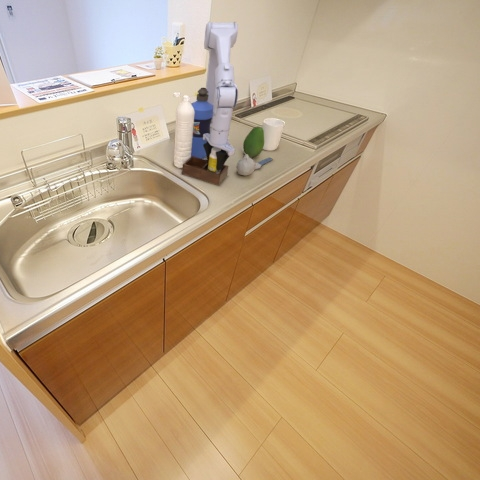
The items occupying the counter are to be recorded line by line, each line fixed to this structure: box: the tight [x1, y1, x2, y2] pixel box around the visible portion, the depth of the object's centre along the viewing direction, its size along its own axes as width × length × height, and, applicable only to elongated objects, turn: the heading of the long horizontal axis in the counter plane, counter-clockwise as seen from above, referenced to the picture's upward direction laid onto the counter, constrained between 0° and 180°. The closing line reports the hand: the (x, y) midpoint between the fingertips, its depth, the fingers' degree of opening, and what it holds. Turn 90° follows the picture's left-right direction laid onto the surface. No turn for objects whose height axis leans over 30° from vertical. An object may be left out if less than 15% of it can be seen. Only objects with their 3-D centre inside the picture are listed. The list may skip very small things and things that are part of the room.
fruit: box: [242, 126, 264, 159], centre depth 109 cm, size 8×8×12 cm
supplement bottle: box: [208, 147, 221, 174], centre depth 96 cm, size 5×5×8 cm
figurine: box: [236, 154, 256, 176], centre depth 100 cm, size 6×7×8 cm
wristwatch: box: [236, 157, 274, 176], centre depth 106 cm, size 4×20×1 cm, turn 127°
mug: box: [261, 117, 286, 152], centre depth 117 cm, size 9×12×11 cm
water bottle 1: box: [172, 91, 195, 169], centre depth 100 cm, size 9×6×25 cm
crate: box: [181, 156, 229, 186], centre depth 101 cm, size 15×8×4 cm, turn 58°
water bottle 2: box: [190, 87, 214, 159], centre depth 106 cm, size 9×9×25 cm
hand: (214, 166), depth 98 cm, fingers closed on supplement bottle, 5 cm apart
